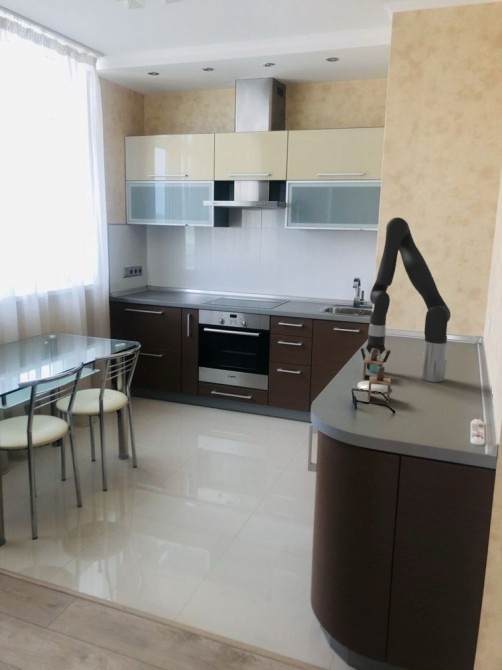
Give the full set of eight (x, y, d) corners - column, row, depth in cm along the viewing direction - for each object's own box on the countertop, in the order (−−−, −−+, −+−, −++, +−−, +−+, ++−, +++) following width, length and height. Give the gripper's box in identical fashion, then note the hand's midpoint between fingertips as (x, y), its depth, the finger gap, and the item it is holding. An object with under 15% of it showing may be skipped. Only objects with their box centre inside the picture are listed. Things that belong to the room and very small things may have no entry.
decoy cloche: (388, 397, 219) (391, 365, 216) (388, 404, 212) (391, 370, 209) (368, 395, 221) (370, 363, 218) (367, 401, 213) (370, 368, 211)
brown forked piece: (381, 376, 248) (384, 347, 245) (381, 381, 241) (383, 351, 238) (363, 374, 250) (365, 346, 247) (362, 379, 243) (365, 350, 240)
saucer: (396, 390, 228) (396, 387, 228) (371, 394, 222) (372, 392, 221) (374, 382, 239) (374, 379, 239) (350, 385, 233) (351, 383, 232)
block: (378, 370, 257) (379, 357, 256) (378, 372, 254) (379, 360, 252) (369, 369, 258) (370, 357, 257) (369, 371, 255) (370, 359, 253)
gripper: (392, 333, 254) (389, 369, 258) (361, 331, 257) (358, 366, 261) (392, 337, 247) (389, 373, 251) (360, 334, 250) (357, 370, 254)
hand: (373, 370), depth 256 cm, fingers closed on block, 4 cm apart
